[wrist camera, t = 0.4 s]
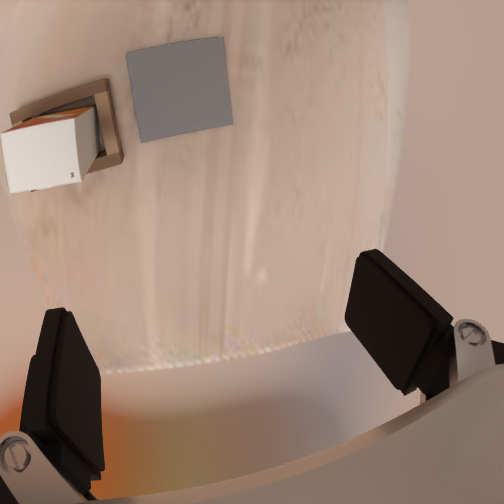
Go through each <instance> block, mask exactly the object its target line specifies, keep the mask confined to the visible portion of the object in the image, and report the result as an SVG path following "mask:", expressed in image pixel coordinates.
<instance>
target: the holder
mask: <svg viewBox="0 0 504 504" xmlns="http://www.w3.org/2000/svg"><path fill="white" fill-rule="evenodd" d="M92 95H94V96H95V102H96V107H97V112H98V117H99V121H100V126H101V131H102V135H103V140H104V144H105V148H106V150H104V151H101V152H99V153H98V155H97V156H96V158H95V160H94V161H93V163H92V164H91V166H90V168H89V170H88V171H87V173H86V174H88V173H91V172H94V171H98V170H101V169H105V168H108V167H112V166H115V165H119V164H122V161H123V158H124V155H123V151H122V147H121V142H120V138H119V133H118V128H117V123H116V118H115V113H114V108H113V103H112V98H111V92H110V86H109V81H108V79H103V80H100V81H96V82H93V83H90V84H86V85H83V86H80V87H77V88H74V89H71V90H68V91H65V92H62V93H59V94H57V95H54V96H51V97H48V98H46V99H43V100H41V101H38V102H35V103H33V104H30V105H28V106H26V107H23V108H21V109H19V110H16V111H14V112H12V113H10V118H11V122H12V127H15V126H17V125H19V124H21V123H23V122H26V121H28V120H30V119H32V116H34V115H37V114H40V113H42V112H45V111H47V110H50V109H53V108H56V107H58V106H61V105H64V104H67V103H70V102H73V101H76V100H79V99H82V98H86V97H89V96H92ZM38 190H39V189H38ZM33 191H36V190H31V192H33Z"/></svg>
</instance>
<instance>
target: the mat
mask: <svg viewBox="0 0 504 504" xmlns="http://www.w3.org/2000/svg"><path fill="white" fill-rule="evenodd" d="M126 57H127V64H128V70H129V77H130V83H131V89H132V95H133V100H134V106H135V112H136V117H137V122H138V127H139V132H140V138H141V142H142V143H144V142H148V141H152V140H157V139H161V138H165V137H170V136H174V135H179V134H184V133H189V132H194V131H199V130H204V129H209V128H215V127H221V126H227V125H233V118H232V109H231V100H230V92H229V83H228V74H227V65H226V56H225V48H224V39H223V37H214V38H206V39H198V40H191V41H184V42H178V43H172V44H166V45H161V46H156V47H151V48H146V49H142V50H137V51H133V52H128V53H126Z"/></svg>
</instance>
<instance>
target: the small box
mask: <svg viewBox="0 0 504 504" xmlns="http://www.w3.org/2000/svg"><path fill="white" fill-rule="evenodd" d="M1 139H2V147H3V155H4V162H5V168H6V175H7V181H8V186H9V192H10V193H11V194H13V193H19V192H25V191H31V190H38V189H46V188H52V187H55V186H60V185H66V184H72V183H79V182H82V180H83V178H84V177H85V175H86V173H87V171H88V170H89V168H90V166H91V164H92V163H93V161H94V160H95V158H96V156H97V155H98V153H99V151H100V144H99V131H98V112H97V107H96V105H91V106H86V107H80V108H74V109H68V110H63V111H57V112H51V113H46V114H41V115H39V116H37V117H34V118H32V119H30V120H28V121H26V122H23V123H21V124H19V125H17V126H15V127H13V128H11V129H9V130H7V131H5V132H2V133H1Z"/></svg>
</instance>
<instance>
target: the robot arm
mask: <svg viewBox="0 0 504 504" xmlns="http://www.w3.org/2000/svg"><path fill="white" fill-rule="evenodd" d="M452 320H453V317H452V316H451V315H450V314H449V313H448V312H447V311H446V310H445V309H444V308H443V307H442V306H441V305H440V304H439V303H437V302H436V301H435V300H434V299H433V298H432V297H431V296H430V295H429V294H428V293H427V292H426V291H425V290H423V289H422V288H421V287H420V286H419V285H418V284H417V283H416V282H415V281H414V280H412V279H411V278H410V277H409V276H408V275H407V274H405V273H404V272H403V271H402V270H401V269H400V268H399V267H398V266H397V265H395V264H394V263H393V262H392V261H391V260H390V259H389V258H387V257H386V256H385V255H384V254H383V253H382V252H380V251H379V250H378V249H373V250H368V251H363V252H361V253H360V255H359V257H358V258H357V259H356V263H355V268H354V273H353V278H352V283H351V288H350V293H349V298H348V302H347V307H346V312H345V322H346V324H347V325H348V327H349V328H350V329H351V331H352V332H353V333H354V334H355V336H356V337H357V338H358V340H359V341H360V342H361V344H362V345H363V346H364V347H365V349H366V350H367V351H368V353H369V354H370V355H371V357H372V358H373V359H374V360H375V362H376V363H377V365H378V366H379V367H380V368H381V370H382V371H383V372H384V374H385V375H386V376H387V378H388V379H389V380H390V382H391V383H392V384H393V386H394V387H395V388H396V389H398V390H401V392H402V393H403V394H404V396H405V395H407V394H409V393H411V392H413V391H415V390H416V389H417V387H418V388H419V389H420V391H421V395H420V405H419V406H417V407H415V408H413V409H411V410H410V411H408V412H406V413H404V414H402V415H400V416H398V417H396V418H395V419H392V420H390V421H388V422H386V423H384V424H382V425H381V426H378V427H376V428H374V429H372V430H370V431H368V432H365V433H363V434H361V435H359V436H357V437H354V438H352V439H350V440H347V441H345V442H343V443H340V444H338V445H336V446H333V447H331V448H328V449H325V450H323V451H320V452H318V453H315V454H313V455H310V456H307V457H304V458H301V459H298V460H295V461H292V462H290V463H286V464H283V465H280V466H277V467H274V468H271V469H267V470H264V471H261V472H257V473H254V474H250V475H246V476H242V477H239V478H235V479H231V480H227V481H222V482H218V483H213V484H209V485H204V486H199V487H194V488H189V489H182V490H177V491H170V492H164V493H158V494H151V495H143V496H134V497H124V498H114V499H104V500H99V499H98V498H97V497H96V496H95V495H94V494H93V493H92V492H91V491H90V489H91V482H90V481H91V480H92V481H93V480H101V473H100V471H104V470H105V462H104V451H103V437H102V417H101V377H100V372H99V369H98V367H97V365H96V363H95V361H94V359H93V357H92V355H91V353H90V351H89V349H88V347H87V345H86V343H85V341H84V338H83V336H82V334H81V332H80V330H79V327H78V325H77V323H76V321H75V318H74V316H73V314H72V312H71V311H68V312H67V311H66V309H65V308H63V307H62V308H55V309H49V310H47V311H46V313H45V316H44V320H43V325H42V328H41V333H40V337H39V341H38V345H37V350H36V355H33V357H32V358H31V361H30V365H29V371H28V376H27V382H26V387H25V393H24V399H23V406H22V413H21V421H20V430H19V431H12V432H8V433H6V434H4V435H3V436H2V437H1V438H0V504H504V343H500V342H496V341H492V340H490V336H489V333H488V331H487V330H486V329H485V327H484V326H482V325H481V324H480V323H478V322H476V321H474V320H470V319H462V320H459V321H458V322H456V324H455V326H454V327H453V326H452V325H451V322H452Z"/></svg>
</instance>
